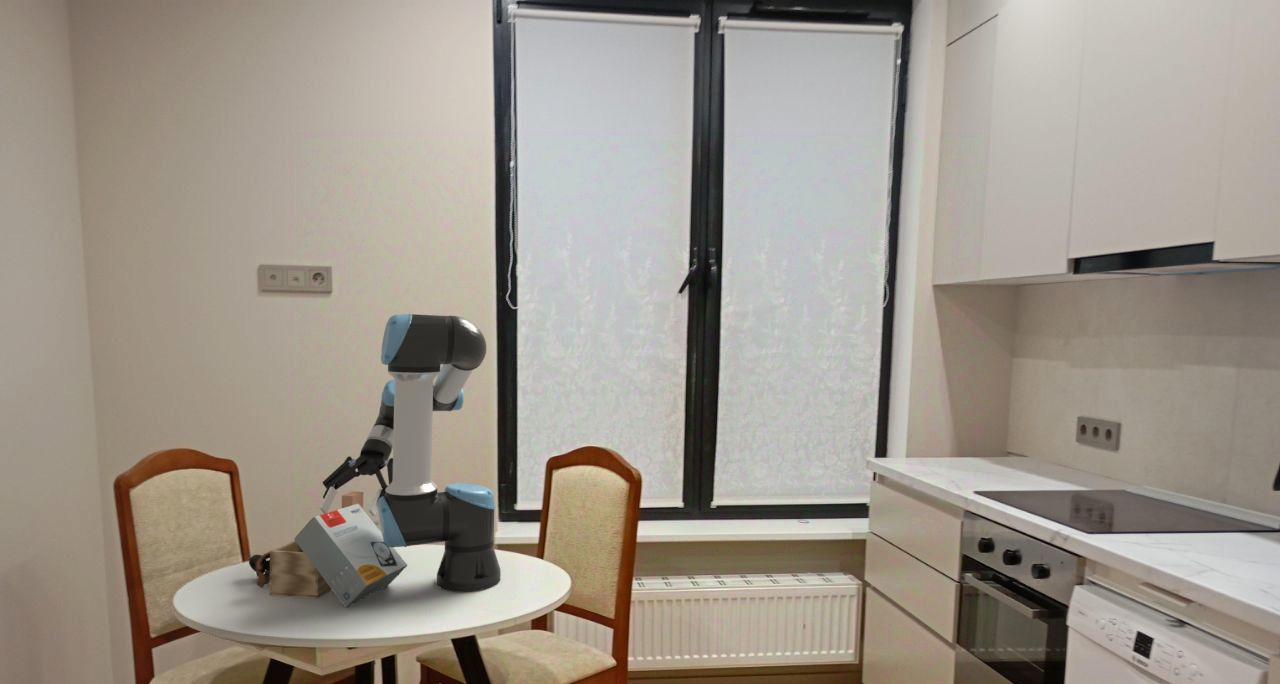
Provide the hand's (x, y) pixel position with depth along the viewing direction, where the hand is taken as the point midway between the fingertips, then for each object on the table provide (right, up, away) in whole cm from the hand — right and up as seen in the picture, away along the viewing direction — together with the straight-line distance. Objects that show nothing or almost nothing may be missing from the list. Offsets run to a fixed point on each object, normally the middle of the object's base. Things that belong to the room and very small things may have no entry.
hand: (347, 512), depth 171 cm
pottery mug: (-14, -14, -10) cm, 22 cm away
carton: (-2, -14, -14) cm, 20 cm away
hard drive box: (+16, -12, -21) cm, 29 cm away
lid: (0, -4, -2) cm, 5 cm away
